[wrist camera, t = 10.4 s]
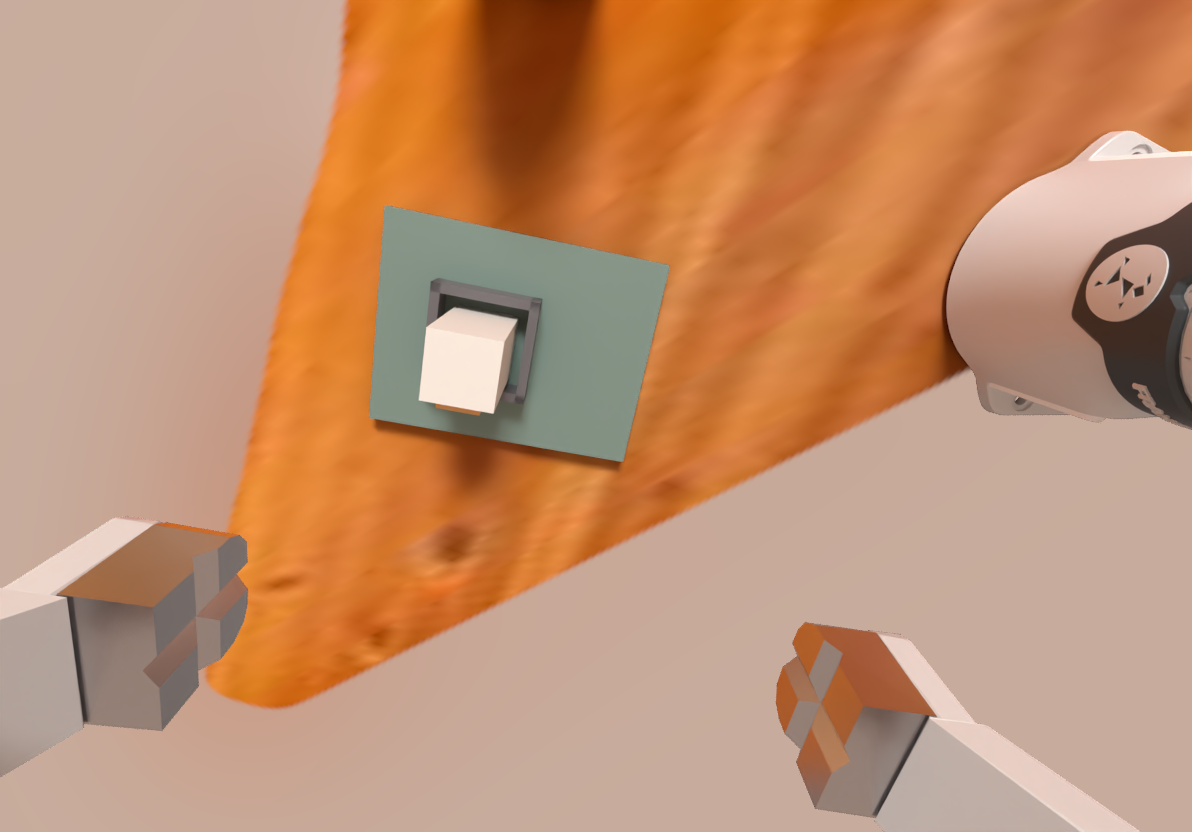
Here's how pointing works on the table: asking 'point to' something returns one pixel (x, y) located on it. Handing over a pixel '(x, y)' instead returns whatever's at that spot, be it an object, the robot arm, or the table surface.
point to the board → (518, 330)
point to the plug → (468, 359)
